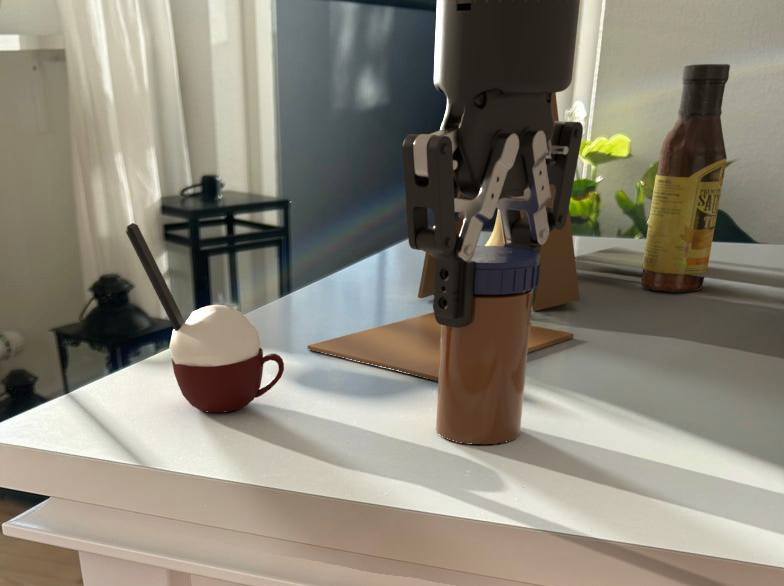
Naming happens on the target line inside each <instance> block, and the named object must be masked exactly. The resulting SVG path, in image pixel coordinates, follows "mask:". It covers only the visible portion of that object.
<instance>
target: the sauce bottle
mask: <svg viewBox="0 0 784 586" xmlns="http://www.w3.org/2000/svg"><path fill="white" fill-rule="evenodd" d="M730 68H731V64H729V63H689V64H685V65H684V66H683V72H682V78H681V80H682V91H681V98H680V105H679V109H678V111H677V117H678V119H677V120H676V122H675V123H674V125H673V127H672V129H671V130H670V131H668V133H667V134H666V136H665V138H664V140H663V141H662V143H661V148H660V151H659V161H658V167H657V173H656V174H655V179H654V185H653V192H652V199H651V206H650V211H649V219H648V226H647V232H646V238H645V244H644V245H645V246H644V251H643V260H642V266H641V268H642V276H641V286H642V287H644V289H648V290H650V291H656V292H666V293H667V292H668V293H680V292H681V293H682V292H692V291H698V290H700V289H701V288H702V287H703V285H704V282H705V281H704V280H705V276H700V275H699V274H704V273H707V271H708V268H709V262H710V256H711V251H712V245H713V240H714V233H715V228H716V223H717V217H718V211H719V206H720V200H721V195H722V188H723V182H724V178H725V171H726V167H727V166H726V165H727V161H728V157H727V152H726V146H725V139H724V134H723V126H722V119H721V116H722V114H723V111H722V107H723V99H724V94H725V90H726V89H725V88H726V84H727V82H728V81H729V78H730ZM697 274H698V275H697Z"/></svg>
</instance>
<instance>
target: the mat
mask: <svg viewBox="0 0 784 586" xmlns="http://www.w3.org/2000/svg"><path fill="white" fill-rule="evenodd" d="M440 338H441V325H440V324H439V323H437V321H436V319H435V314H434V311H433V312H429V313H426V314H421V315H418V316H414V317H411V318H407V319H403V320H399V321H396V322H392V323H388V324H384V325H380V326H376V327H373V328H368V329H364V330H360V331H357V332H354V333H349V334H345V335H343V336H342V335H341V336H338V337H334V338H331V339H327V340H323V341H319V342H316V343H311V344H308V345H306V347H307V350H308V349H310V350H314V351H318V352H323V353H327V354H332V355H336V356H340V357H344V358H348V359H352V360H356V361H360V362H364V363H369V364H373V365H377V366H382V367H386V368H391V369H394V370H399V371H402V372H406V373H410V374H413V375H417V376H421V377H425V378H428V379H431V380H435V381H434V382H436V381H438V378H439V358H440ZM572 339H574V333H573V332H568V331H563V330H557V329H552V328H548V327H541V326H536V325H531V324H530V331H529V341H528V352H527V354H529V353H531V352H535V351H538V350H541V349H543V348H548V347H550V346H554V345H557V344H559V343H562V342H565V341H568V340H572ZM431 380H430V381H431Z"/></svg>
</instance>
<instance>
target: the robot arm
mask: <svg viewBox="0 0 784 586" xmlns="http://www.w3.org/2000/svg"><path fill="white" fill-rule="evenodd" d="M580 5H581V0H436V13H435V14H436V15H435V18H436V19H435V37H434V38H435V39H434V63H433V85H434V87H435V89H436V91H438V92H439V93H442V94H444V95H445V96H446V109H445V113H444V117H443V120H442V122H441V125H440V129H439V130H437V131H434V132H431V133H428V134H427V133H420V134H413V133H412V134H411V133H410V134H407V135H406V136H405V138H404V140H403V143H402V159H403V160H402V161H403V162H402V163H403V176H404V177H403V178H404V192H405V207H406V208H405V209H406V223H407V237H408V239H407V240H408V245H409V248H411V249H412V250H416V251H422V252H424V253H426V252H427V253H430V255H431V256H433V257H434V260H435V278H434V295H433V301H432V302H433V303H432V310H433V312H434V314H435V319H436V321H437V323H439V324H440V325H445V326H450V327H455V328H461V327H464V326H467V325H469V324H470V322H471V317H472V302H473V287H474V272H475V261H469V260H471V258H472V257H473V255H474V252H475V249H476V246H478V242H479V240H480V236H481V233H482V230H483V227H484V225H485V224H486V223H488V222H490V221H491V220H492V219H493V218H494V215H495V212H496V209H497V210H498V209H499V210H500V212H501V216H502V221H503V226H504V231H505V236H506V239H507V240H509V241H511V243H506V244H504V246H507V247H517V248H524V249H529V250H533V251H536V252H538V253H539V254H540V251H541V245H543V244H545V243H546V241H547V239H548V237H549V233H550V232H551V231H552V230H554V229H557V230H561V229H563V227H564V226H565V224H566V221H567V216H568V210H569V211H570V204H571V198H572V193H573V188H574V183H575V177H576V171H577V166H578V162H579V161H578V160H579V156H580V151H581V145H582V140H583V134H584V127H583V124H582V123H581V122H580V121H567V120H565V121H563V120H561V121H560V120H559V121H554V119H553V114H552V106H551V95H552V93H555V92H556V93H561V92H564V91H565V90H567V89H568V88H569V87H570V85H571V84H572V80H573V73H574V72H573V71H574V66H575V65H574V64H575V53H576V43H577V33H578V24H579V14H580V7H581V6H580ZM554 162H555V163H554ZM549 184H551V185H554V186H555V192H554V198H553V203H552V208H551V207H546V206H545V204H546V203H547V202H548V201H549V200H550V198H551V193H550V186H549ZM527 187H528V188H527ZM459 191H460V192H461V193H462V194H463V195H464V196H463V198H464V199H457V196H458V192H459ZM467 199H472V200H467ZM428 209H431V210H432V212H433V219H434V221H433V223H434V225H433V227H429V219H428V218H429V217H428ZM520 211H524V214H523V217H522V218H521V214H520ZM460 218H461V219H464V222H463V226H462V229H461V232H460V235H459V236H458V235H456V231H455V223H456V221H457V220H458V219H460ZM539 262H540V261H539ZM536 290H537V287H536V288H534V289H533V298H532V306H533V305H534V303H535V294H536Z"/></svg>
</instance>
